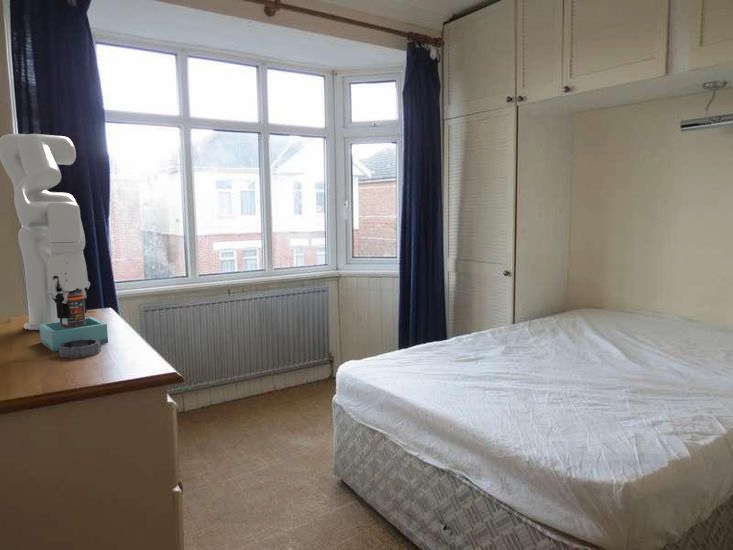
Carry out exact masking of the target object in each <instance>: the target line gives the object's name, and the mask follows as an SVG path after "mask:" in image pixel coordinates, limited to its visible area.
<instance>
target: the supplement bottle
mask: <svg viewBox="0 0 733 550" xmlns="http://www.w3.org/2000/svg"><path fill="white" fill-rule="evenodd" d="M78 289H79V288H77V289H76V290H74V291H72V292H69V293H68V299H67V303H69V310H70V318H60V325H61V327H64V328H74V327H80V326H83V325H85V318H86V313H85V308H84V299H85V298H84V295H83V293H82V292H80V291H79V290H78ZM60 295H61V296H62V298H63V294H60Z"/></svg>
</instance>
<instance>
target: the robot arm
mask: <svg viewBox="0 0 733 550" xmlns="http://www.w3.org/2000/svg"><path fill="white" fill-rule="evenodd" d="M76 159H77V152H76V148H75V145H74V143H73V141H72V140H71V139H70V138H69V137H67V136H63V135H53V134H52V135H51V134H41V133H30V134H29V133H28V134H27V133H7V134H4V135H1V137H0V162H1V165H2V166H3V168H4V170H5V172H6V174H7V175H8V177H9V179H10V181H11V182H12V186H13V193H14V194H13V199H14V200H13V201H14V206H15V210H16V215H17V218H18V221H19V224H20V225H21V226H22V227H21V228H20V229H19V230H18V233H17V240H18V245H19V248H20V252H21V255H22V260H23V265H24V266H23V267H24V275H25V286H26V287H25V288H26V295H27V308H28V318H29V322H26V323H24V324H23V328H24V329H25V330H27V329H28V330H29V331H40V326H39V324H46V323H53V322H60V318H70V310H69V303H67V299H68V293H69V292H72V291H74V290H76V289H77V288H79V289H78V290H79V291H80V292H82V293H83V295H84V308H85V314H87V313H88V311H87V300H86V299H87V294H88V291H89V288H90V286H91V282H90V281H89V278H88V270H87V269H88V268H87V264H86V259H85V255H84V249H85V248H86V237H85V236H86V235H85V231H84V227H83V222H82V219H81V209H80V205H79V204H78V203H77V199H75V197H74V196H73V195H72V194H70V193H68V192H59V191H58V192H57V191H49V190H51V189H52V188H54V187H55V186H57V185H59V183H60V182H61V180H62V173H61V170H60V168H59V165H65V166H71V165H73V164H74V162H75V161H76ZM60 294H63V298H62V296H61V295H60Z"/></svg>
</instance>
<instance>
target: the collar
mask: <svg viewBox="0 0 733 550" xmlns="http://www.w3.org/2000/svg"><path fill="white" fill-rule="evenodd" d="M101 344H102V343H100V341H99V340H98V339H79V340H73V341H68V342H65V343H62V344H60V345H59V351H58V354H59V355H58V356H59V357H60V358H62V359H80V358H86V357H91V356H94V355H97V354H99V353H100V352H101V351H102V348H101V346H102V345H101Z"/></svg>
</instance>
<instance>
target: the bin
mask: <svg viewBox="0 0 733 550" xmlns="http://www.w3.org/2000/svg"><path fill="white" fill-rule="evenodd" d="M39 326H40V330H39V334H40V335H39V336H40V343H41V344H42V345H44V346H45V347H47V348H48V349H49V350H50V351H52V352H59V345H60V344H62V343H65V342H68V341H73V340H79V339H98V340H99V341H100V344H105V343H109V337H108V335H109V334H108V324H107V323H105V322H103V321H101V320H98V319H97V318H95V317H93V316H90V317H85V325H83V326H80V327H74V328H64V327H61V325H60V322H53V323H46V324H39Z"/></svg>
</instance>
